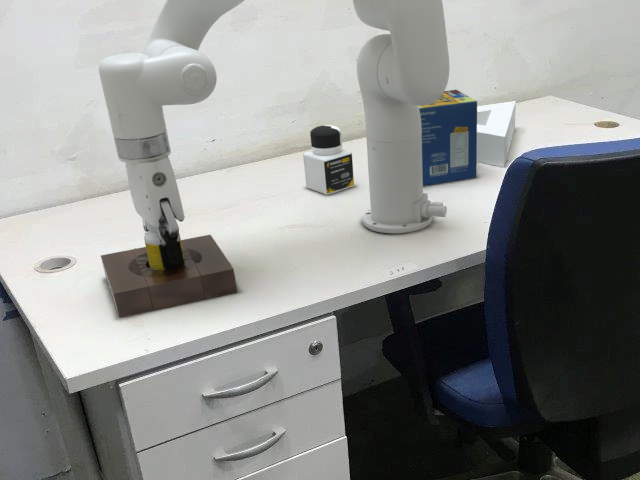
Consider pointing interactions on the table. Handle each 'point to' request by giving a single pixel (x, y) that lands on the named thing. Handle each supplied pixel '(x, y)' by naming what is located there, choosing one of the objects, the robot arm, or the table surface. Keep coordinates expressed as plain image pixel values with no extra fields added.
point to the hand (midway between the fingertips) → (166, 259)
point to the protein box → (449, 138)
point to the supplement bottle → (155, 246)
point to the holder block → (168, 277)
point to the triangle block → (495, 132)
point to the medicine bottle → (328, 162)
